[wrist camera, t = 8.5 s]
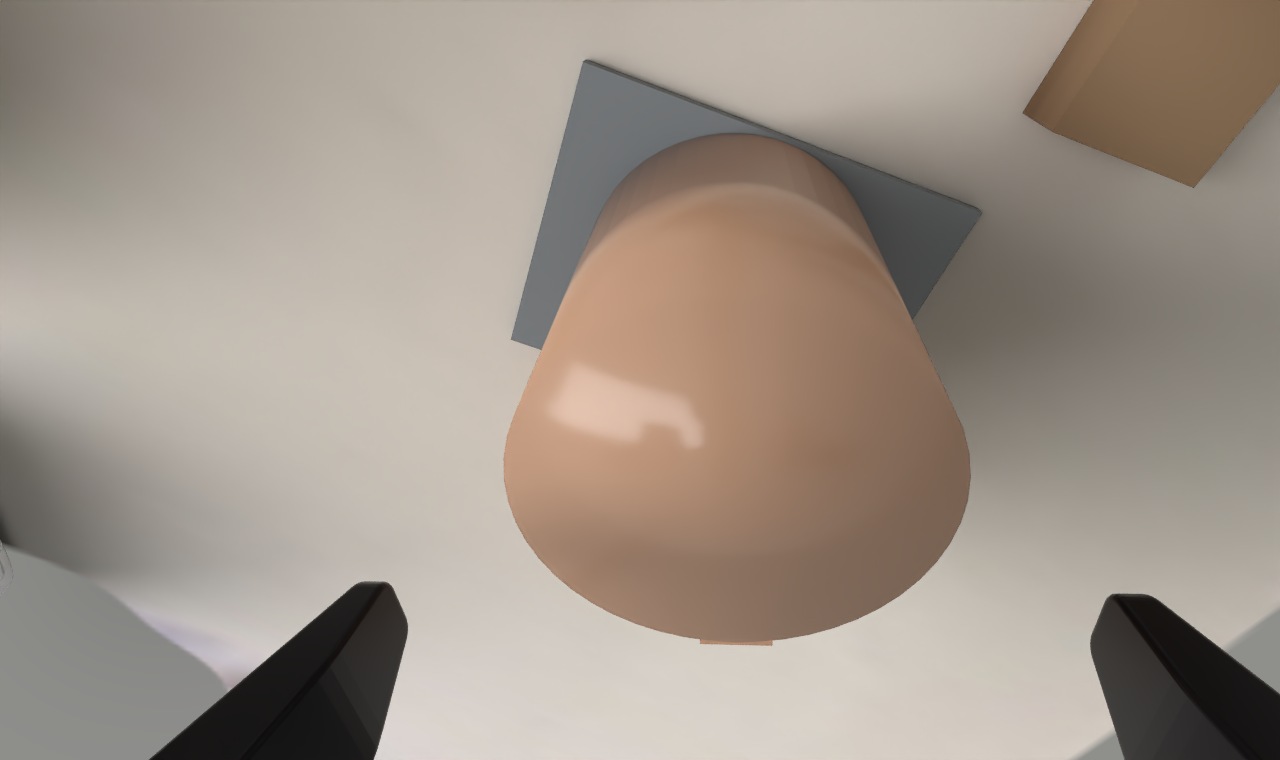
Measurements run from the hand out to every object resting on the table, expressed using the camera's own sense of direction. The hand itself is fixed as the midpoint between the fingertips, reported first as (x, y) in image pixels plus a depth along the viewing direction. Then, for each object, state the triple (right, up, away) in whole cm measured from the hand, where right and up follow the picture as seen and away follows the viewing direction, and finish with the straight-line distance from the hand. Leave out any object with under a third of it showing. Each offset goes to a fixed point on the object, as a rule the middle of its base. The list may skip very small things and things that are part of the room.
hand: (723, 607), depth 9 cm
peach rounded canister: (+1, +4, +8) cm, 9 cm away
